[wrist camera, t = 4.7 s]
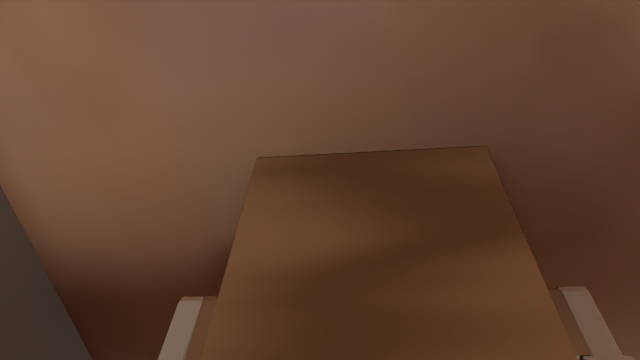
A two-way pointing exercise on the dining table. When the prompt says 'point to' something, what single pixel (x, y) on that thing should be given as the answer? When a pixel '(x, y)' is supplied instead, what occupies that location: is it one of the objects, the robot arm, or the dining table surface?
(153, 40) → the dining table surface
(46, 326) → the tower base
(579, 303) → the robot arm
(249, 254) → the walnut block
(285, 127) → the dining table surface
